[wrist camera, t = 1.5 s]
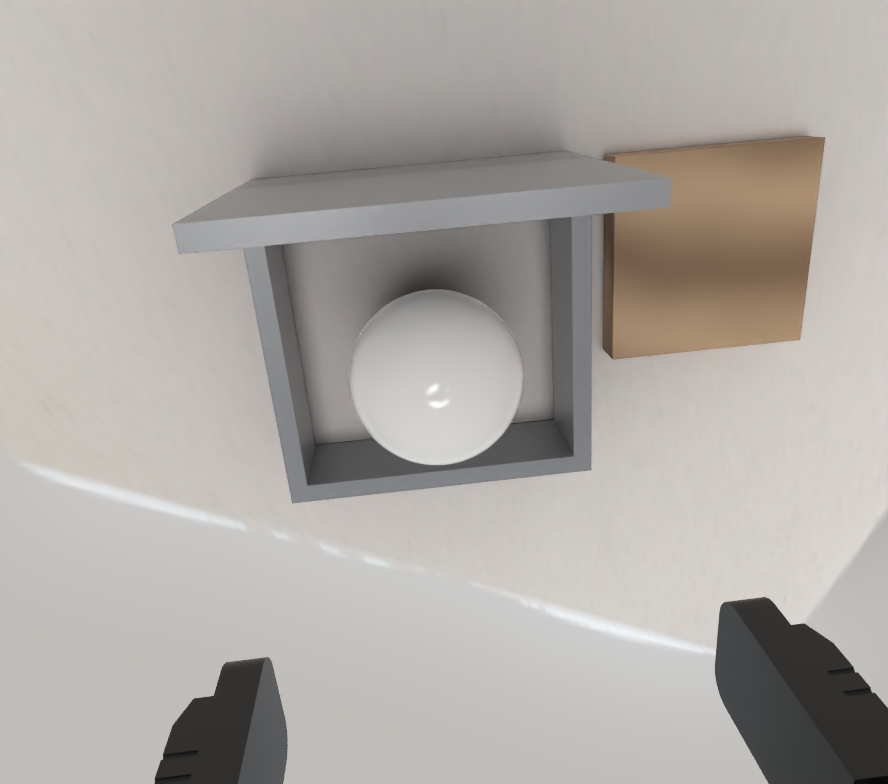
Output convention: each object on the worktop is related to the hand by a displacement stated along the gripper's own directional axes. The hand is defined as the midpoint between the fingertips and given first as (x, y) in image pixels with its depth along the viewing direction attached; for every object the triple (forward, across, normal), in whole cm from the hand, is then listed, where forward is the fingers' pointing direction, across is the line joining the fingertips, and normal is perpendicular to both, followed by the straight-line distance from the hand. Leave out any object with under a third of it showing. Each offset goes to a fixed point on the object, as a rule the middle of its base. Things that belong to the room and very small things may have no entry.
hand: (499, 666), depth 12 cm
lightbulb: (+22, 0, 0) cm, 22 cm away
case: (+22, 0, 0) cm, 22 cm away
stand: (+22, -13, -2) cm, 26 cm away
